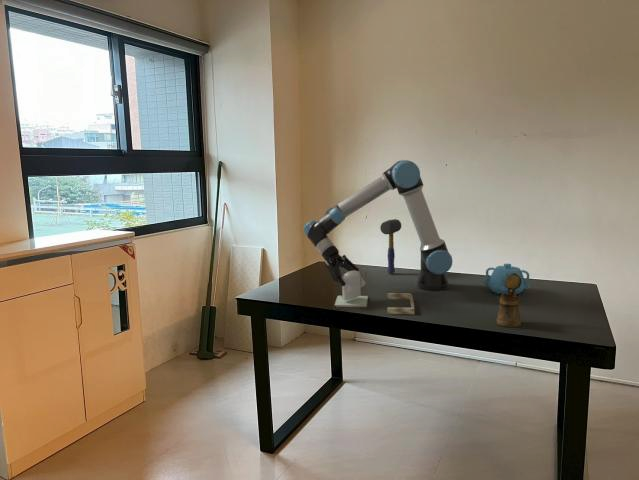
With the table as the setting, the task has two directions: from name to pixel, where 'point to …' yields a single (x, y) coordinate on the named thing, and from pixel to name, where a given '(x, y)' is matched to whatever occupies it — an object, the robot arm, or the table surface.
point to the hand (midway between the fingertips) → (356, 288)
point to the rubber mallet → (390, 240)
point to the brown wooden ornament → (510, 303)
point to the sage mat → (352, 302)
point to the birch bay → (400, 310)
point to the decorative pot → (499, 277)
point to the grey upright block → (352, 285)
